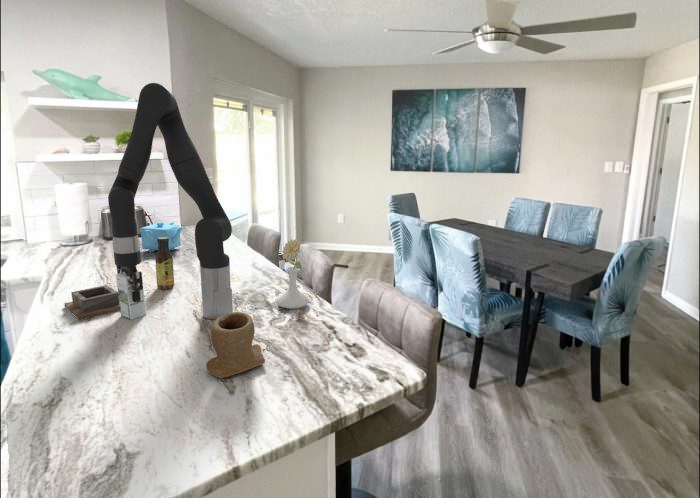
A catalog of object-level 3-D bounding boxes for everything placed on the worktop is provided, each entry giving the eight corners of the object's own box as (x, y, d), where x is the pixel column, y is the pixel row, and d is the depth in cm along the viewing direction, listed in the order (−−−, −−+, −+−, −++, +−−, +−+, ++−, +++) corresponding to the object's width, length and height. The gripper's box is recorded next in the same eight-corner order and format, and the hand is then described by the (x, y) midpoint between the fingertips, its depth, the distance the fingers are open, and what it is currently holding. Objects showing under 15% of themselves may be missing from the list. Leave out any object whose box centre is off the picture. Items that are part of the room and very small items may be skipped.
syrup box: (146, 314, 143) (143, 272, 139) (129, 320, 138) (125, 277, 135) (136, 310, 146) (132, 269, 142) (119, 316, 141) (115, 273, 137)
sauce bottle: (168, 291, 165) (164, 240, 160) (153, 289, 166) (149, 239, 161) (178, 285, 171) (174, 236, 166) (164, 284, 172) (160, 235, 168)
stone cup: (219, 388, 102) (216, 330, 99) (201, 367, 111) (198, 313, 108) (276, 369, 111) (275, 315, 108) (255, 351, 120) (254, 301, 117)
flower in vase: (273, 301, 157) (272, 234, 151) (303, 298, 162) (303, 233, 156) (282, 315, 146) (281, 243, 139) (314, 311, 150) (315, 240, 144)
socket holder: (128, 307, 148) (127, 292, 147) (79, 320, 137) (77, 304, 136) (112, 296, 158) (110, 282, 156) (64, 307, 147) (62, 292, 145)
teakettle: (139, 249, 224) (136, 221, 221) (176, 244, 235) (174, 218, 232) (147, 257, 210) (144, 227, 206) (187, 252, 220) (185, 224, 217)
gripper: (148, 251, 135) (153, 301, 139) (129, 243, 144) (134, 290, 148) (123, 256, 129) (128, 307, 133) (105, 247, 138) (110, 295, 142)
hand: (131, 298), depth 141 cm, fingers open, 7 cm apart
